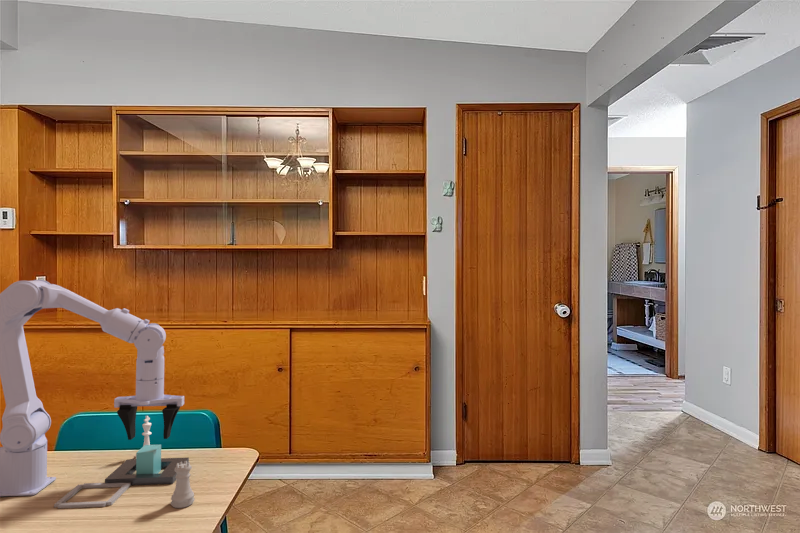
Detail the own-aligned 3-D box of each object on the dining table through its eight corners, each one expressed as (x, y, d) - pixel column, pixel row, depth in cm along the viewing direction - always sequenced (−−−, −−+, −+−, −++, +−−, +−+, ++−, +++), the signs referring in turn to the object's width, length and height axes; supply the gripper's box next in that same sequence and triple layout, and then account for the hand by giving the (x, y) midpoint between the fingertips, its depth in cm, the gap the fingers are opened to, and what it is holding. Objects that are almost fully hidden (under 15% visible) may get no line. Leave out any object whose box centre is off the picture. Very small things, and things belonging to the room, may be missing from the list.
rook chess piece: (185, 510, 96) (186, 469, 96) (165, 507, 97) (165, 466, 97) (199, 499, 100) (199, 460, 100) (179, 497, 101) (180, 458, 101)
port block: (104, 486, 106) (104, 479, 106) (127, 465, 117) (127, 459, 117) (172, 483, 108) (172, 476, 108) (188, 463, 118) (188, 457, 118)
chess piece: (130, 459, 121) (131, 418, 121) (144, 451, 126) (144, 412, 126) (148, 460, 120) (149, 419, 120) (161, 453, 125) (162, 413, 125)
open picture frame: (52, 508, 96) (52, 505, 96) (79, 486, 106) (79, 483, 106) (110, 506, 97) (110, 503, 97) (131, 484, 107) (131, 481, 107)
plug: (136, 479, 109) (136, 452, 109) (144, 470, 114) (144, 445, 114) (153, 479, 110) (153, 452, 110) (160, 470, 115) (161, 444, 115)
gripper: (108, 382, 107) (107, 444, 107) (177, 381, 109) (176, 443, 109) (122, 375, 114) (121, 434, 114) (187, 374, 116) (186, 432, 116)
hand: (149, 437), depth 112 cm, fingers open, 7 cm apart
